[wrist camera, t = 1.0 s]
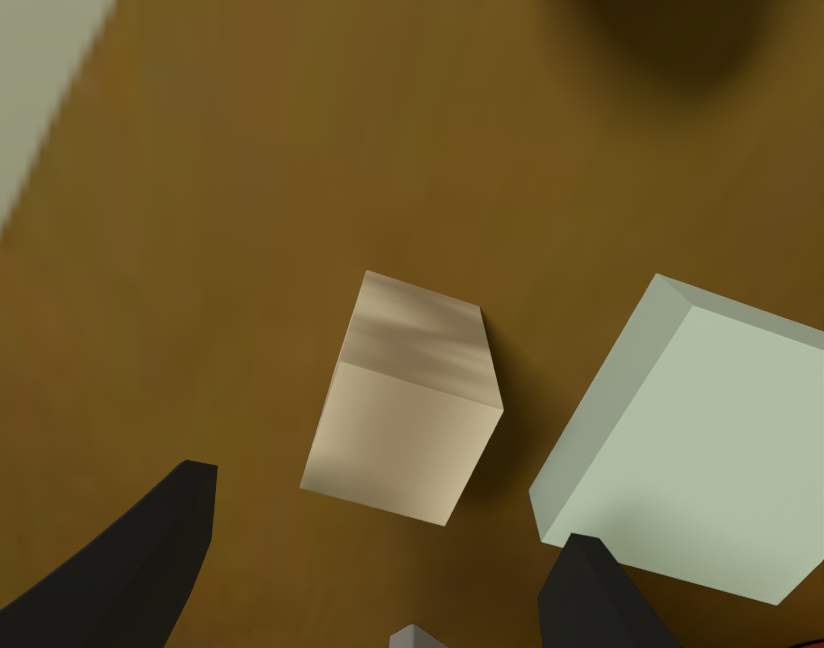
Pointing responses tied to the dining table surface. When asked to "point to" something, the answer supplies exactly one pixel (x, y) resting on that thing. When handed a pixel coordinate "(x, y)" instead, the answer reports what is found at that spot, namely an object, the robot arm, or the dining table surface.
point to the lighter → (414, 639)
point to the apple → (814, 645)
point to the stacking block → (698, 447)
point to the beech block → (406, 403)
